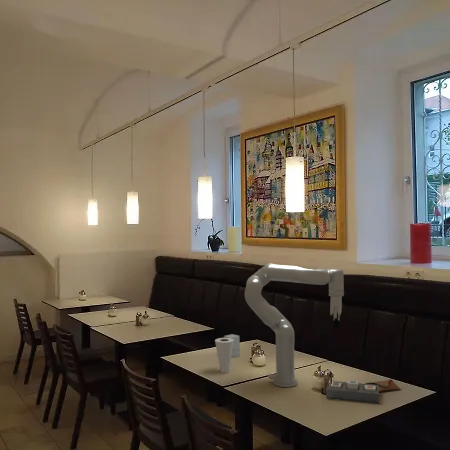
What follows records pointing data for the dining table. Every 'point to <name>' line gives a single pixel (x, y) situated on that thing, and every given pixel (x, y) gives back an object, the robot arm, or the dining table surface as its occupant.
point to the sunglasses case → (386, 386)
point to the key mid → (352, 384)
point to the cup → (224, 353)
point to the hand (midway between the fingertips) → (336, 327)
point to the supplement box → (234, 345)
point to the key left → (336, 385)
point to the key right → (370, 388)
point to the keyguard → (353, 393)
